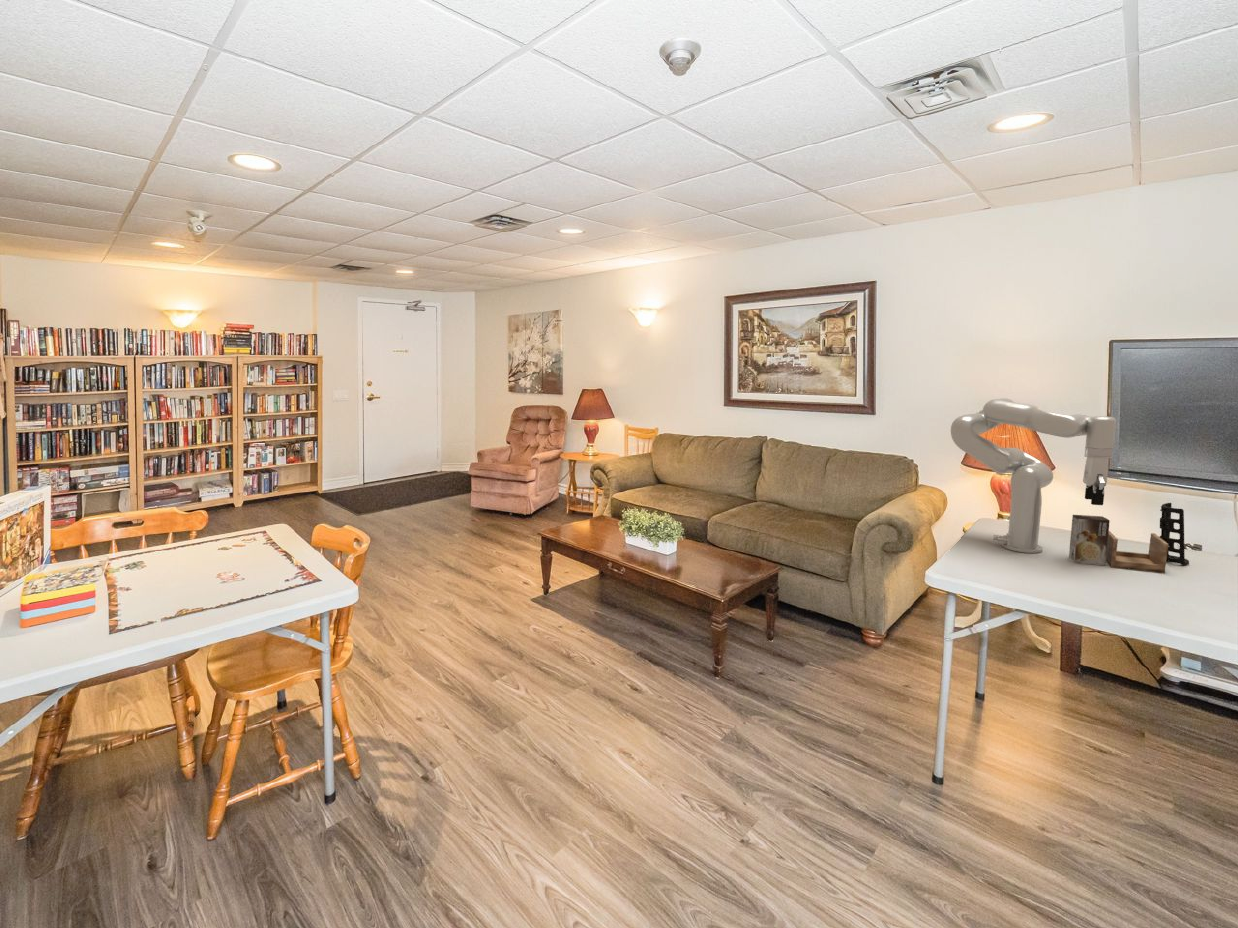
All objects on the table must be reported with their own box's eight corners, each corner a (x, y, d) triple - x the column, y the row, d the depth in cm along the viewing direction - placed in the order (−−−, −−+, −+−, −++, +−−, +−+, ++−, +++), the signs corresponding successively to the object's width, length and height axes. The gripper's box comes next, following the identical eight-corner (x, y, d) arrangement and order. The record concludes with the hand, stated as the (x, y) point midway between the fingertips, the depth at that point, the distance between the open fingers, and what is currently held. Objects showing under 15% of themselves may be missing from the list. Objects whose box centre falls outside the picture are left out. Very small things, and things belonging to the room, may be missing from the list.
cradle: (1110, 567, 204) (1114, 538, 203) (1101, 555, 217) (1104, 529, 215) (1164, 573, 198) (1168, 543, 197) (1151, 561, 210) (1154, 533, 209)
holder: (1198, 565, 204) (1198, 508, 201) (1172, 566, 205) (1172, 509, 203) (1175, 556, 214) (1175, 501, 212) (1150, 557, 216) (1150, 503, 214)
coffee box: (1099, 560, 212) (1104, 516, 210) (1105, 565, 206) (1111, 520, 204) (1067, 557, 215) (1072, 514, 213) (1073, 563, 210) (1078, 518, 207)
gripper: (1079, 449, 214) (1075, 496, 217) (1090, 455, 199) (1085, 506, 201) (1106, 450, 211) (1101, 498, 213) (1119, 456, 195) (1113, 508, 198)
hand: (1093, 501), depth 207 cm, fingers open, 9 cm apart
